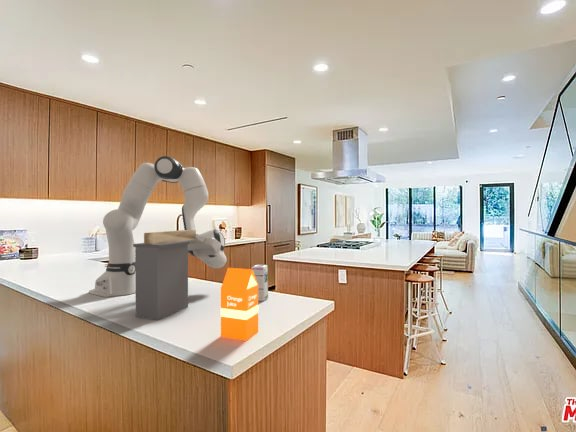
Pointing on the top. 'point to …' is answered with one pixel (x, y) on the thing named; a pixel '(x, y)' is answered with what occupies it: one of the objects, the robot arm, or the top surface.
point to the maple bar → (168, 236)
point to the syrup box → (261, 281)
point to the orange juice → (239, 304)
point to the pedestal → (161, 279)
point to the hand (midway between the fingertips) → (185, 235)
